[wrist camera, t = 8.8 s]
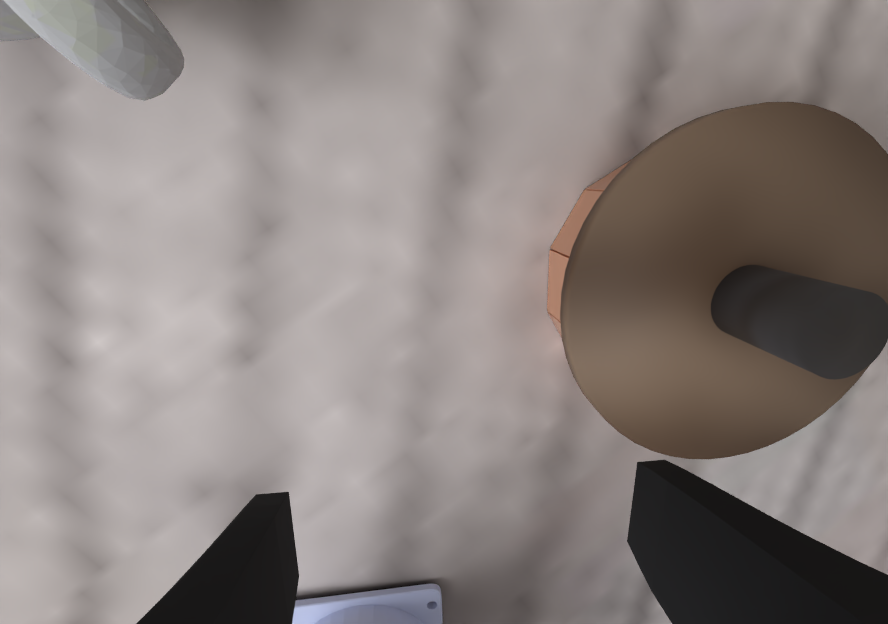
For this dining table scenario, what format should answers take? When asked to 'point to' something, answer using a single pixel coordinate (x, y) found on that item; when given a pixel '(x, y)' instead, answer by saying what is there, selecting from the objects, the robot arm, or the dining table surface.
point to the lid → (731, 280)
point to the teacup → (101, 40)
